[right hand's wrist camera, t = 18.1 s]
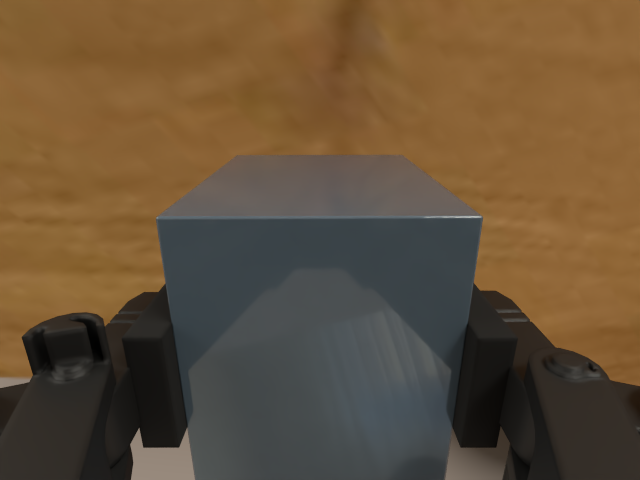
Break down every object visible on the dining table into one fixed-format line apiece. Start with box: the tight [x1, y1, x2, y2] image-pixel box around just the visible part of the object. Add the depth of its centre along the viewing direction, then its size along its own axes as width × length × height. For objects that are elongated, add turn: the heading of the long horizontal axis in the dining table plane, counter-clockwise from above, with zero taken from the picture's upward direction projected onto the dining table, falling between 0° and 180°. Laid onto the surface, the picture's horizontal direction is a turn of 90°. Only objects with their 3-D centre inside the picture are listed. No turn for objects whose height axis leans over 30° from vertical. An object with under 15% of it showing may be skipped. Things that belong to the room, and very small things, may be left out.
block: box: [156, 155, 483, 480], centre depth 12 cm, size 7×6×8 cm
